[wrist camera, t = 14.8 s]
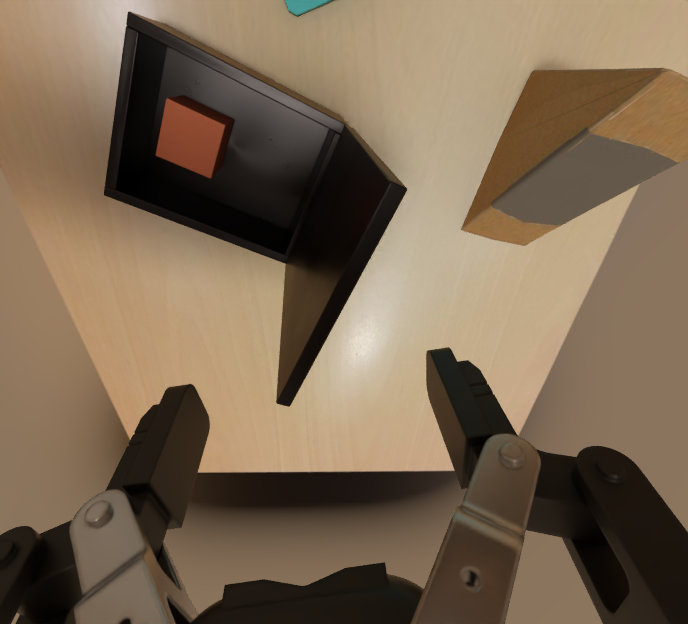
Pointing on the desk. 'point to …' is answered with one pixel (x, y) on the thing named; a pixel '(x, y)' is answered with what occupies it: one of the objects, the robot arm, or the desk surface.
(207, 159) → the block
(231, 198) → the dark brown box
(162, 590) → the robot arm
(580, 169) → the sandwich container
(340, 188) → the lid
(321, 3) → the diskette
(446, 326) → the desk surface
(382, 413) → the desk surface
